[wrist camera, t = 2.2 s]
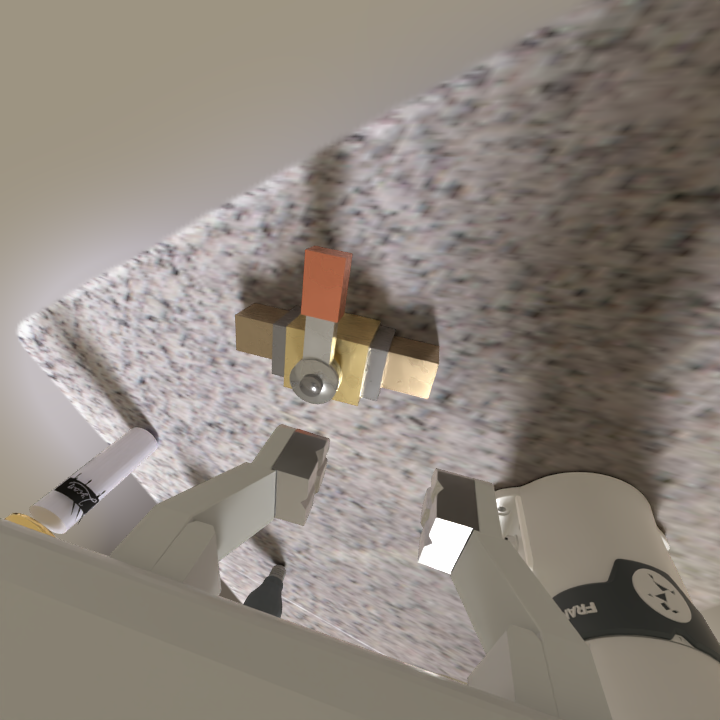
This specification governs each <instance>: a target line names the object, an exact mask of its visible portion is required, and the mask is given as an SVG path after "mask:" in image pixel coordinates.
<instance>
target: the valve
mask: <svg viewBox="0 0 720 720" xmlns="http://www.w3.org/2000/svg"><path fill="white" fill-rule="evenodd" d="M380 322H381V321H379V320H375V319H371V318H366V317H362V316H358V315H353V314H349V313H345V312H344V315H343V317H342V318H341V319H340V320H339V322H338V329H337V337H336V344H335V352H334V359H335V360H336V361H337V362H338V364H339V365H340V367H341V370H342V381H341V384H340V386H339V388H338V389H337V391H336V393H335V395H334V397H333V398H332V399H333V400H336V401H340V402H344V403H348V404H351V405H355V406H358V403H359V401H360V398H361V397H363V398H366V399H370V400H374V401H377V399H378V396H379V393H380V390H381V387H383V388H386V389H390V390H394V391H398V392H402V393H406V394H410V395H414V396H418V397H422V398H426V399H428V397H429V394H430V391H431V387H432V384H433V381H434V378H435V375H436V372H437V368H438V365H439V346H436V345H432V344H428V343H424V342H419V341H415V340H411V339H407V338H402V337H398V336H394V334H395V330H396V329H393V328H388V327H384V326H380ZM305 324H306V315H302V314H301V307H298V306H295V307H294V308H293V309H291V310H290V311H288V310H283V309H279V308H275V307H271V306H266V305H262V304H258V303H254V304H252V305H251V306H249V307H247V308H246V309H244V310H242V311H241V312H239V313H238V314H236V315H235V325H236V350H238V351H242V352H246V353H250V354H254V355H257V356H261V357H265V358H269V359H272V374H275V375H279V376H282V377H284V387H287V388H291V389H292V387H291V385H290V373H291V370H292V369H293V368H294V366H295V365H296V364H297V363H298V362H299V360H300V359H301V358H302V357H303V349H304V337H305Z"/></svg>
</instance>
